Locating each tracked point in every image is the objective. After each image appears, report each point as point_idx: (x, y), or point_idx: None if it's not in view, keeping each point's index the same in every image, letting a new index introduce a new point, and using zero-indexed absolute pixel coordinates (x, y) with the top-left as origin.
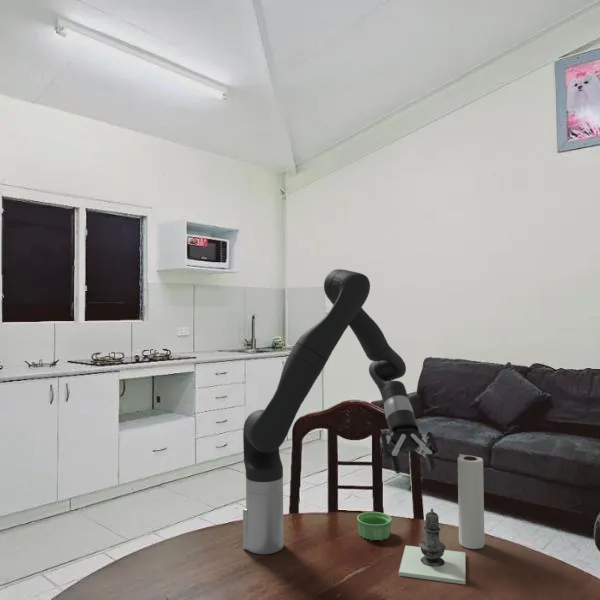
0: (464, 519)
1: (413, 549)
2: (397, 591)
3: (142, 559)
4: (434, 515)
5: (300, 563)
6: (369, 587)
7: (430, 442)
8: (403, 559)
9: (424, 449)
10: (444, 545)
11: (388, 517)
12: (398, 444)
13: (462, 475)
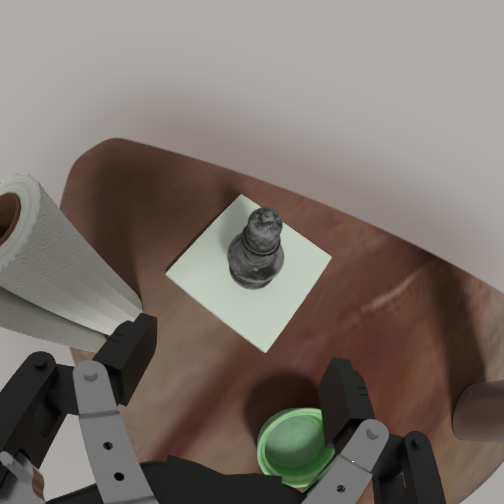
0: (123, 287)
1: (259, 328)
2: (348, 221)
3: None
4: (266, 208)
5: (447, 347)
6: (381, 246)
7: (22, 423)
8: (302, 295)
9: (110, 406)
10: (232, 243)
11: (261, 450)
12: (347, 485)
13: (69, 239)
